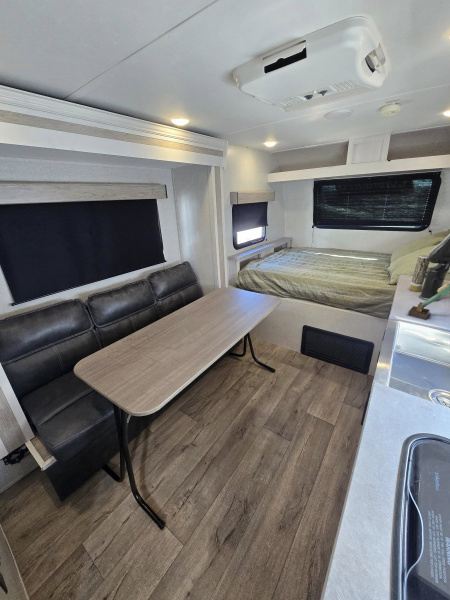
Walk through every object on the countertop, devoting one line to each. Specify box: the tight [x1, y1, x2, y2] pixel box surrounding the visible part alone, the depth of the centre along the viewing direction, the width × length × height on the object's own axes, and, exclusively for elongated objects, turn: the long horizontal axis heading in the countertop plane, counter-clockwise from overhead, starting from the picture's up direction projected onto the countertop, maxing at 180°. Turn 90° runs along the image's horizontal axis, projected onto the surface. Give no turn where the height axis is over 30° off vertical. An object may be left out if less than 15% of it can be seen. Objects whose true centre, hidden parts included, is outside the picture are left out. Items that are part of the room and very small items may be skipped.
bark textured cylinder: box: [409, 254, 430, 292], centre depth 170 cm, size 7×7×25 cm
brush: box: [421, 282, 450, 309], centre depth 132 cm, size 5×4×19 cm
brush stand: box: [407, 301, 431, 320], centre depth 139 cm, size 9×8×7 cm
